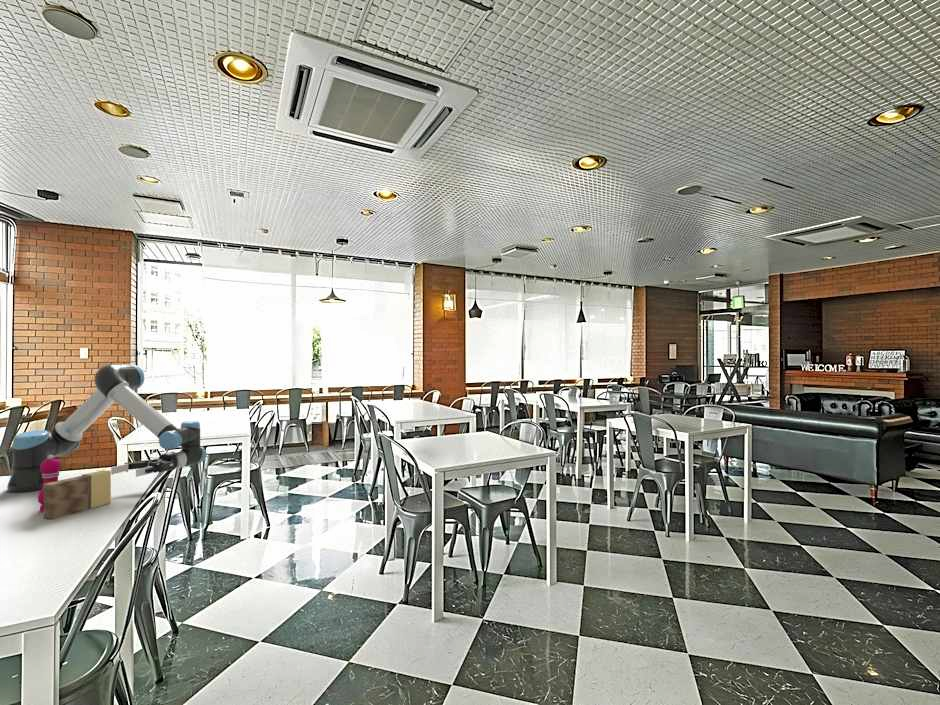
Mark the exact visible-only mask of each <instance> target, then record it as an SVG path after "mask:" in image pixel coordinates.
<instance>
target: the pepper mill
mask: <svg viewBox="0 0 940 705" xmlns="http://www.w3.org/2000/svg"><path fill="white" fill-rule="evenodd" d="M61 468H62V463H61V461H60V460H59V459H56V458H55V457H54V456H53V455H49V456H48V460H45V461H43V462H42V463H41V465H40V470H41V471H42V472H43V473H42V478H43V480H44V482H43V484H46V483H50V482H55V481H59V476H60V473H61V472H60V469H61ZM37 496H38V497H37V502H38V503H39V504H40V506H39V513H40V512H41V513H44V486H43V487H42V489H41V490H40V491H39V494H38V495H37Z"/></svg>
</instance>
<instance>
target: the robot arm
mask: <svg viewBox="0 0 940 705" xmlns="http://www.w3.org/2000/svg"><path fill="white" fill-rule="evenodd" d="M144 382H145V373H144V371H143V369H142V368H141V367H139V366H138V365H136V364H131V363H125V364H124V363H120V364H107V365H105V366H102V367H100V368H99V369H98V370H97V371H96V373H95V375H94V385H95V386H96V390H95V391H94V392H93V393H92V394H91V395H90V396H89V397H88V398H87V399H86V400H85V401H84V402H82V404H80V406H79V407H78V408H77V409H76V410H75V411H74V412H73V413H72V414H70V416H69V417H67V418H66V419H65V421H59V422H57V423H55V425H54V426H53V427H52V428H51V429H50V430H46V429H39V430H38V429H36V430H31V431H30V430H29V431H25V432H24V431H23V432H21V433H18V434H16V435H14V437H13V439H12V445H11V447H12V473H11V474H10V477H9V481H8V483H7V487H6V488H7V489H6V491H7V493H25V492H26V493H27V492H33V491H39V490H40V491H41V489H42V487H43V482H44V480H43V478H42V473H43V472H42V471H41V470H40V465H41V463H42V462H43V461H45V460H48V456H49V455H53V456H54V458H56V457H61V456H62V457H63V456H66V455H68V454H72V453H73V452H75V451H76V450H77V449H78V448H79V447H80V445H81V442H82V441H81V440H82V439H83V436H84V435H83V433H84V432H85V431H86V430H87V429H88V428H90V426H91V425H92V424H93V423H94V422H95V421H96V420H97V419H98V418H100V417H101V416H102V414H103V413H105V412H106V410H107V409H108V408H110V407H111V406H112V405H113V404H114V403H116V404H118V405H119V406H120V407H121V408H122V409H124V410H125V411H126V412H127V413H129V414H130V415H131V417H133V418H134V419H135V420H136V421H138V422H139V423H140V424H141V425H143V426H144V427H145V428H146V429H147V430H149V431H150V433H152V434H153V436H155V437H156V438H157V439H158V444H159V446H160V447H161V448H162V449H164V450H172V449H173V450H174V449H178V448H180V447H181V449H179V450H174V451H170V452H165V453H162V454H160V455H159V457H158V458H154V459H151V458H150V459H146V460H145V459H144V460H137V461H130V462H124V464H119V465H116V466H115V465H114V466H112V467H111V468H110V471H111V475H115V474H119V473H124V472H125V473H127V472H129V471H130V470H135V477H142V476H146V475H149V474H153V473H154V474H155V473H163V472H169V471H172V470H175V469H176V470H179V469H180V468H184V467H188V466H189V467H190V466H192V465H197V464H200V463H203V462H204V461H205V460H206V458H207V451H206V449H205V447H204V446H202V445H201V423H200V422H199V421H197V420H188V421H183V422H181V423H180V427H179V428H177V426H175V425H174V424H173V423H171V422H170V421H169V420H168V419H167V418H166V417H165V416H163V415H162V414H161V413H160V412H158V410H156V408H154V407H153V406H152V405H151V404H149V403H148V402H147V401H146V400H145V399H144V398H142V397H141V396H140V395H139V394H138V393H137V392H135V390H137V389H139V388H141V387H142V385H143V384H144Z"/></svg>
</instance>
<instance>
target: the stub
mask: <svg viewBox="0 0 940 705" xmlns="http://www.w3.org/2000/svg"><path fill="white" fill-rule="evenodd" d="M111 475H112V474H111V470H105V469H102V470H97V471H94V472H93V471H92V472H89V473H84V474H81V475H80V476H84V477H88V510H89V509H93V508H97V507H100V506H103V505H107V504H110V503H111V502H112V500H111V499H112V495H111V494H112V491H111V490H112V486H111V484H112V478H111V477H112V476H111Z"/></svg>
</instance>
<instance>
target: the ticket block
mask: <svg viewBox="0 0 940 705" xmlns="http://www.w3.org/2000/svg"><path fill="white" fill-rule="evenodd" d="M43 486H44V512H43V519H44V520H48V521H49V520H50V521H53V520H57V519H60V518H63V517H67V516H71V515H74V514H78V513H81V512H85V511H86V512H87V511H88V510H89V509H88V477H84V476H81V475H79V476H74V477H70V478H65V479H61V480H58V481H55V482H50V483H46V484H43Z"/></svg>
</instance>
